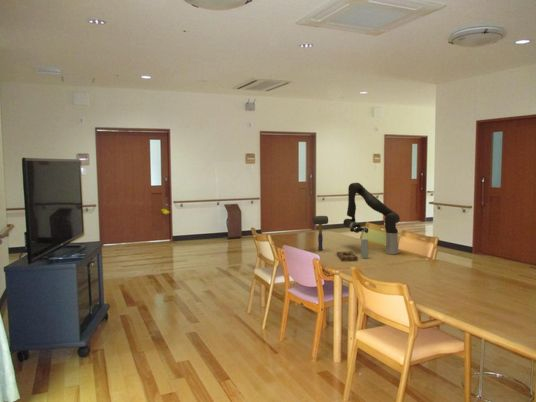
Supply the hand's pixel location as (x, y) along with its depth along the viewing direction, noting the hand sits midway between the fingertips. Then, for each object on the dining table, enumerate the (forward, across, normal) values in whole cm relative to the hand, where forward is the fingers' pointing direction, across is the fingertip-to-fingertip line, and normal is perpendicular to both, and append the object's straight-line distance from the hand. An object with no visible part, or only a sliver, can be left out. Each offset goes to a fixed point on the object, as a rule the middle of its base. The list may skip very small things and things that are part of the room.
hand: (361, 231), depth 338 cm
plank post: (+12, 0, +18) cm, 21 cm away
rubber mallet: (-20, -28, +22) cm, 41 cm away
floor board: (+10, -14, +19) cm, 26 cm away
